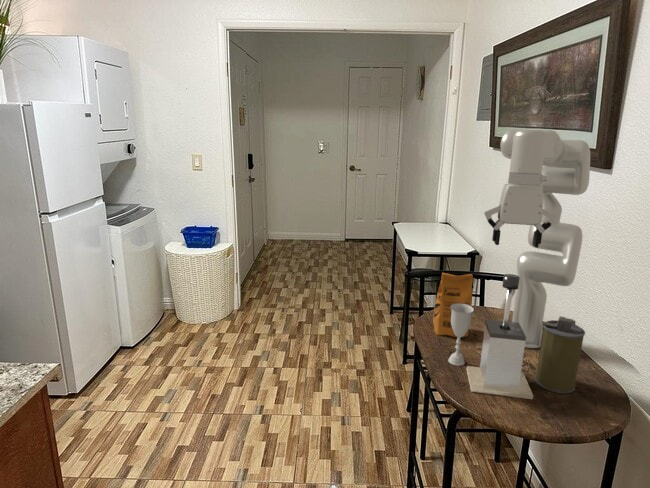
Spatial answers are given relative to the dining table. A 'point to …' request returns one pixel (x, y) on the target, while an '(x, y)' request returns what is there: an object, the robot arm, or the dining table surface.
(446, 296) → the coffee package
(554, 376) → the canister
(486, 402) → the dining table surface
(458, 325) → the chalice
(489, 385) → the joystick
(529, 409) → the dining table surface
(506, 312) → the plunger
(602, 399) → the dining table surface
